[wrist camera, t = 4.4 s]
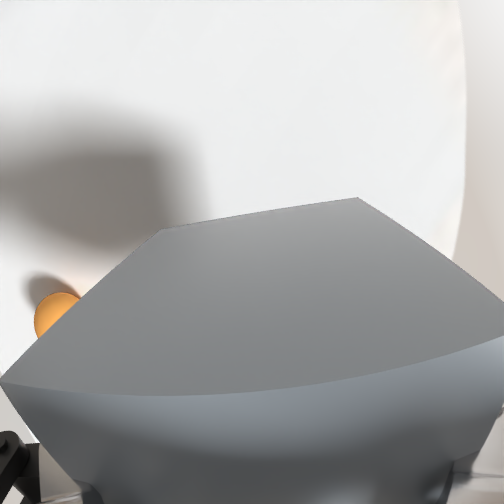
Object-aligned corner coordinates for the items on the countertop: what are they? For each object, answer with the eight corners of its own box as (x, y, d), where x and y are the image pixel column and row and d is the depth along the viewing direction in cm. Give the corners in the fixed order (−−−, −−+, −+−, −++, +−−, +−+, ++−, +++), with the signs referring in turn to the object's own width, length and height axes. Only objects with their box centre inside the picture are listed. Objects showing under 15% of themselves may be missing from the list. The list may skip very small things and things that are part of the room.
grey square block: (160, 229, 12) (-3, 381, 3) (357, 197, 11) (530, 325, 3) (205, 381, 14) (162, 556, 6) (365, 361, 13) (421, 537, 5)
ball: (48, 285, 24) (13, 310, 19) (90, 279, 23) (56, 307, 18) (67, 335, 25) (39, 365, 20) (110, 334, 24) (83, 368, 20)
